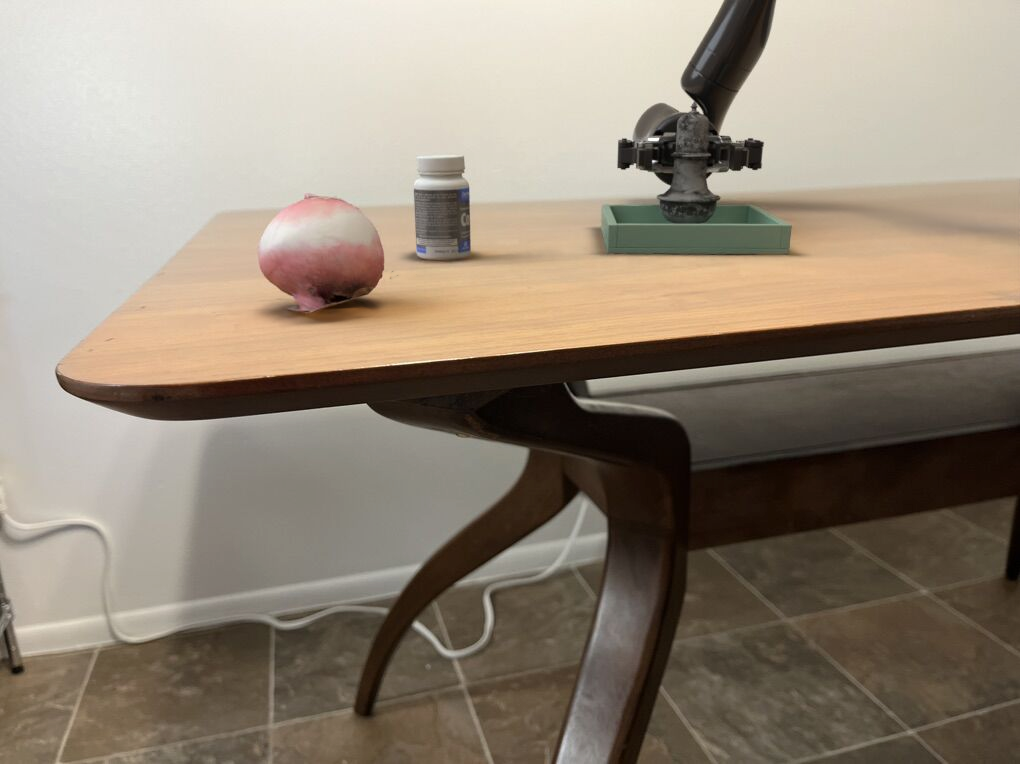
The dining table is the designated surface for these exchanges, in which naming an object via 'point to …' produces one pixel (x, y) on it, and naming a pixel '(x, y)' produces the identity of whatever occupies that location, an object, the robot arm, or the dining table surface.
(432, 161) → the pill bottle
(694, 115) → the salt shaker
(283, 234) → the onion
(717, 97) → the robot arm
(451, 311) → the dining table surface
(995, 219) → the dining table surface
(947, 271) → the dining table surface
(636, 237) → the tray
